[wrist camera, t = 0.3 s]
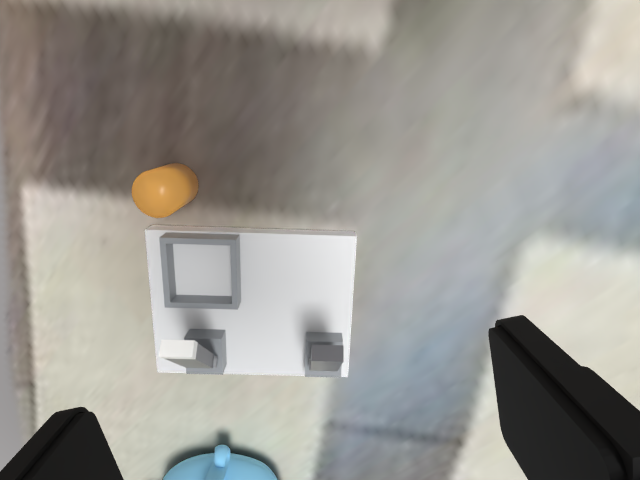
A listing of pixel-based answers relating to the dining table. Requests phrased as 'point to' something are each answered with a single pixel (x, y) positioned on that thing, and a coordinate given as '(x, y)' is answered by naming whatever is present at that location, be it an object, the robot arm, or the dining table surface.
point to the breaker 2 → (326, 357)
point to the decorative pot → (220, 467)
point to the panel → (252, 295)
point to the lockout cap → (164, 189)
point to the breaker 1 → (187, 354)
